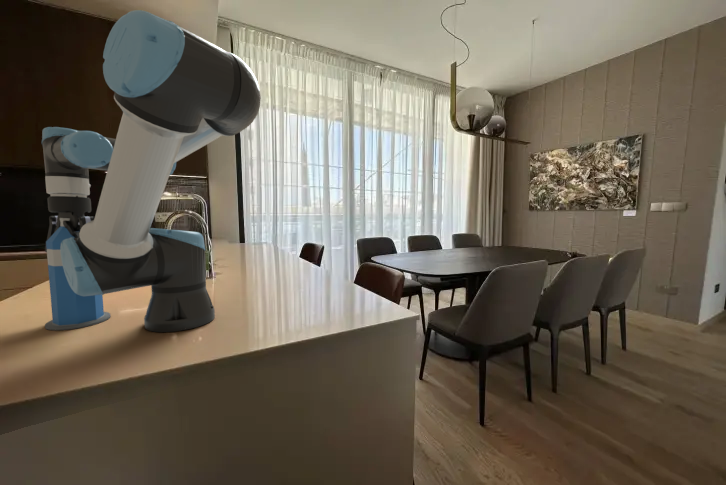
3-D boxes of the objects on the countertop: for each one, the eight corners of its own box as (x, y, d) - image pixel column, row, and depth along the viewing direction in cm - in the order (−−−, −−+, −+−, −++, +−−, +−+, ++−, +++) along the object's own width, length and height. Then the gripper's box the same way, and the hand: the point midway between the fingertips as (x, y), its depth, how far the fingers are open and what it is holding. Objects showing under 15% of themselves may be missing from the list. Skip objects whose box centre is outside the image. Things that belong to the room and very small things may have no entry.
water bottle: (113, 313, 80) (107, 218, 78) (77, 326, 71) (69, 218, 69) (81, 312, 81) (74, 217, 79) (41, 324, 72) (31, 218, 70)
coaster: (121, 317, 80) (121, 314, 80) (62, 333, 69) (61, 330, 68) (93, 311, 84) (93, 308, 84) (34, 326, 73) (33, 323, 73)
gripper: (119, 196, 72) (125, 284, 74) (60, 197, 82) (67, 276, 84) (80, 194, 65) (87, 291, 67) (21, 196, 75) (29, 281, 77)
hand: (76, 283), depth 75 cm, fingers open, 13 cm apart
